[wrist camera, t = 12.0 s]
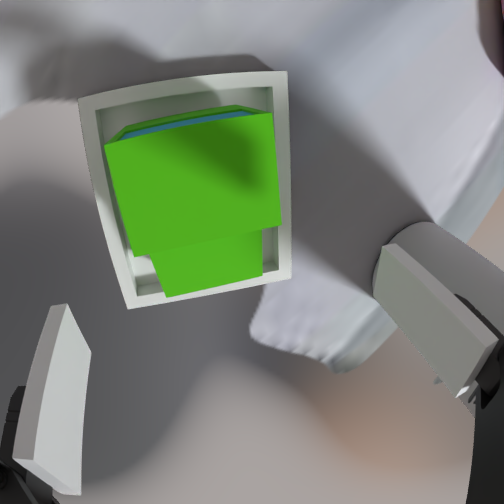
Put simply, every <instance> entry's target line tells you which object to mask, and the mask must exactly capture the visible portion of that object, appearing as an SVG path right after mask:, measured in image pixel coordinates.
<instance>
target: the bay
mask: <svg viewBox="0 0 504 504" xmlns="http://www.w3.org/2000/svg"><path fill="white" fill-rule="evenodd" d="M235 104H236V105H240V106H245V107H250V108H254V109H259V110H263V111H267V112H271V113H272V116H273V127H274V137H275V148H276V159H277V170H278V182H279V194H280V207H281V220H282V225H280V226H275V227H271V228H266V229H262V262H263V276H260V277H256V278H252V279H248V280H244V281H239V282H235V283H231V284H227V285H222V286H218V287H214V288H209V289H205V290H200V291H196V292H191V293H187V294H183V295H178V296H174V297H168V298H166V296H165V293H164V291H163V289H162V286H161V284H160V281H159V279H158V276H157V274H156V271H155V269H154V266H153V263H152V261H151V258H150V256H149V254H148V255H143V256H139V257H135V258H134V255H133V252H132V250H131V247H130V242H129V239H128V236H127V233H126V229H125V226H124V223H123V219H122V216H121V212H120V209H119V205H118V201H117V198H116V194H115V190H114V186H113V182H112V178H111V174H110V170H109V166H108V162H107V158H106V153H105V149H104V144H106V143H107V142H108V141H109V140H110V139H111V138H112V137H114V136H115V135H116V134H117V133H118V132H119V131H121V130H122V129H123V128H124V127H125V126H127V125H131V124H135V123H139V122H144V121H148V120H152V119H157V118H161V117H166V116H171V115H176V114H181V113H186V112H191V111H197V110H203V109H209V108H215V107H221V106H228V105H235ZM78 106H79V113H80V121H81V127H82V133H83V139H84V145H85V151H86V156H87V161H88V166H89V171H90V176H91V181H92V185H93V190H94V194H95V198H96V203H97V207H98V211H99V215H100V219H101V223H102V227H103V230H104V234H105V238H106V241H107V245H108V249H109V252H110V255H111V259H112V262H113V266H114V268H115V272H116V275H117V278H118V281H119V285H120V287H121V291H122V293H123V296H124V299H125V302H126V305H127V308H128V309H132V308H139V307H144V306H150V305H156V304H161V303H167V302H172V301H178V300H184V299H189V298H195V297H200V296H205V295H211V294H216V293H221V292H226V291H231V290H237V289H242V288H247V287H252V286H256V285H262V284H267V283H271V282H276V281H281V280H286V279H291V165H290V129H289V102H288V79H287V71H262V72H240V73H225V74H213V75H203V76H194V77H186V78H178V79H171V80H164V81H158V82H152V83H146V84H140V85H135V86H130V87H125V88H120V89H115V90H111V91H106V92H102V93H98V94H94V95H90V96H86V97H82V98H78Z"/></svg>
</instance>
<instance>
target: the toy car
mask: <svg viewBox="0 0 504 504" xmlns="http://www.w3.org/2000/svg"><path fill="white" fill-rule="evenodd" d="M104 149H105V153H106V158H107V162H108V166H109V170H110V174H111V178H112V182H113V186H114V190H115V194H116V198H117V201H118V205H119V209H120V212H121V216H122V219H123V223H124V226H125V229H126V233H127V236H128V239H129V242H130V247H131V250H132V252H133V255H134V258H135V257H139V256H143V255H148V254H149V256H150V258H151V261H152V263H153V266H154V269H155V271H156V274H157V276H158V279H159V281H160V284H161V286H162V289H163V291H164V293H165V296H166V298H168V297H174V296H178V295H183V294H187V293H191V292H196V291H200V290H205V289H209V288H214V287H218V286H222V285H227V284H231V283H235V282H239V281H244V280H248V279H252V278H256V277H260V276H263V262H262V229H266V228H271V227H275V226H280V225H282V220H281V207H280V194H279V182H278V170H277V159H276V148H275V137H274V127H273V116H272V113H271V112H267V111H263V110H259V109H254V108H250V107H245V106H240V105H236V104H235V105H228V106H221V107H215V108H209V109H203V110H197V111H191V112H186V113H181V114H176V115H171V116H166V117H161V118H157V119H152V120H148V121H144V122H139V123H135V124H131V125H127V126H125V127H124V128H123V129H122V130H121V131H119V132H118V133H117V134H116V135H115V136H114V137H112V138H111V139H110V140H109V141H108V142H107V143H106V144H104Z"/></svg>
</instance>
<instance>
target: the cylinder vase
mask: <svg viewBox="0 0 504 504" xmlns="http://www.w3.org/2000/svg"><path fill="white" fill-rule="evenodd" d="M394 243H396V244H397V245H398V246H399V247H401V248H402V249H403V250H404V251H405V252H407V253H408V254H409V255H410V256H411V257H412V258H414V259H415V260H416V261H417V262H418V263H419V264H420V265H422V266H423V267H424V268H425V269H426V270H427V271H428V272H430V273H431V274H432V275H433V276H434V277H435V278H436V279H437V280H438V281H439V282H441V283H442V284H443V285H444V286H445V287H446V288H447V289H448V290H449V291H450V292H451V293H452V294H458V295H460V296H461V297H463V298H465V299H467V300H468V301H469V302H470V303H471V304H472V305H473V306H474V307H475V309H477V310H478V311H479V312H480V313H481V315H484V316H485V317H486V318H487V319H488V320H489V321H490V322H491V323H492V324H493V325H494V326H495V327H496V328H497V329H498V330H499V331H500V332H501V333H502V334H503V336H504V272H503V271H502V270H501V269H499V268H498V267H497V266H495V265H494V264H493V263H491V262H490V261H489V260H487V259H486V258H485V257H483V256H482V255H481V254H479V253H478V252H476V251H475V250H474V249H472V248H471V247H469V246H468V245H466V244H465V243H464V242H462V241H461V240H459V239H458V238H456V237H455V236H453V235H452V234H450V233H449V232H447V231H446V230H444V229H443V228H441V227H440V226H438V225H437V224H434V223H432V222H419V223H415V224H412V225H410V226H408V227H406V228H405V229H403V230H402V231H400V232H399V233H398V234H397V235H396V236H395V237H394V238H393V239H392V240H391V241H390V242H389V243H388V245H389V244H394ZM379 261H380V257H379V259H378V261H377V264H376V266H375V270H374V274H373V281H372V286H373V293H374V288H375V282H376V277H377V272H378V267H379ZM477 386H478V383H477V382H476V381H475V380H474V382H473V384H472V385H471V387H470V388H469V390H467V391H466V392H464V393H463V394H461V395H459V396H458V397H459V398H460V400H461V401H462V402H463V404H464V405H465V406H466V407H467V409H468V410H469V411H470V413H471V414H472V415H473V416H474V418H475V404H473V402H474V401H475V399H476V396H475V397H474V398H473V400H472V401H471V402H470V403H468V399H469V397H470V396H471V394H472V393H473V391H474V390H475V388H476V387H477Z"/></svg>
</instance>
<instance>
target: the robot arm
mask: <svg viewBox="0 0 504 504" xmlns="http://www.w3.org/2000/svg"><path fill="white" fill-rule="evenodd" d="M373 297H374V298H375V299H376V300H377V302H378V303H379V304H380V305H381V306H382V307H383V309H384V310H385V311H386V312H387V313H388V315H389V316H390V317H391V318H392V319H393V320H394V322H395V323H396V324H397V325H398V327H399V328H400V329H401V330H402V331H403V332H404V334H405V335H406V336H407V337H408V339H409V340H410V341H411V342H412V344H413V345H414V346H415V347H416V349H417V350H418V351H419V352H420V354H421V355H422V356H423V357H424V359H425V360H426V361H427V362H428V364H429V365H430V366H431V367H432V369H433V370H434V371H435V373H436V374H437V375H438V376H439V378H440V379H441V380H442V382H443V383H444V384H445V386H446V387H447V388H448V389H449V391H450V392H451V393H452V395H453V396H454V397H455V398H456V397H458V396H459V395H461V394H463V393H464V392H466V391H467V390H469V388H470V387H471V385H472V384H473V382H474V380H475V381H476V382H477V383H478V386H477V387H476V388H475V390H474V391H473V393H472V394H471V396H470V397H469V399H468V403H470V402H471V401H472V400H473V398H474V397H475V396H476V399H475V401H474V402H473V404H475V431H474V446H473V456H472V466H471V474H470V481H469V488H468V494H467V499H466V504H504V336H503V334H502V333H501V332H500V331H499V330H498V329H497V328H496V327H495V326H494V325H493V324H492V323H491V322H490V321H489V320H488V319H487V318H486V317H485V316H484V315H481V313H480V312H479V311H478V310H477V309H475V307H474V306H473V305H472V304H471V303H470V302H469V301H468V300H467V299H465V298H463V297H461V296H460V295H458V294H452V293H451V292H450V291H449V290H448V289H447V288H446V287H445V286H444V285H443V284H442V283H441V282H439V281H438V280H437V279H436V278H435V277H434V276H433V275H432V274H431V273H430V272H428V271H427V270H426V269H425V268H424V267H423V266H422V265H420V264H419V263H418V262H417V261H416V260H415V259H414V258H412V257H411V256H410V255H409V254H408V253H407V252H405V251H404V250H403V249H402V248H401V247H399V246H398V245H397V244H396V243H394V244H389V245H384V246H382V249H381V255H380V261H379V267H378V272H377V277H376V282H375V288H374V293H373ZM90 358H91V351H90V349H89V347H88V345H87V343H86V342H85V340H84V338H83V336H82V334H81V332H80V330H79V328H78V326H77V323H76V321H75V319H74V318H73V315H72V313H71V311H70V309H69V306H68V304H61V305H55V306H51V308H50V311H49V313H48V316H47V319H46V322H45V325H44V328H43V331H42V334H41V337H40V340H39V343H38V346H37V349H36V353H35V356H34V360H33V363H32V366H31V370H30V374H29V378H28V381H27V385H26V386H18V387H17V389H16V390H15V392H14V394H13V395H12V397H11V399H10V404H9V408H8V413H7V416H6V423H5V425H4V431H3V435H2V441H1V446H0V504H59V502H58V501H57V500H56V499H55V498H54V497H53V496H52V488H53V489H55V490H56V491H58V492H59V493H61V494H70V495H81V456H82V434H83V420H84V408H85V398H86V388H87V380H88V372H89V365H90Z"/></svg>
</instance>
